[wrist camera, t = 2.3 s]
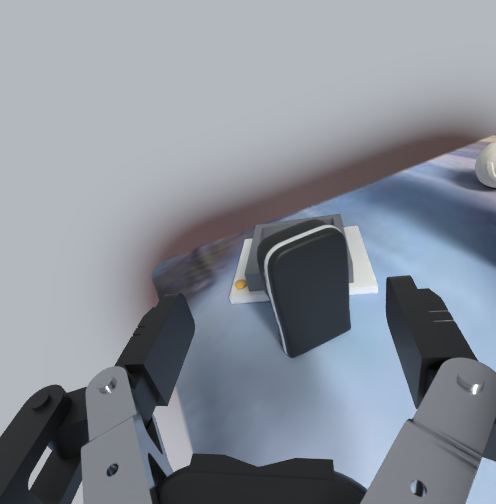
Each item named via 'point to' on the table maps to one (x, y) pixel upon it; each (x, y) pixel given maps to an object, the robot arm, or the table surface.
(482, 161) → the off-white ball
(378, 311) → the table surface
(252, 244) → the charging dock
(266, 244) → the battery charger
